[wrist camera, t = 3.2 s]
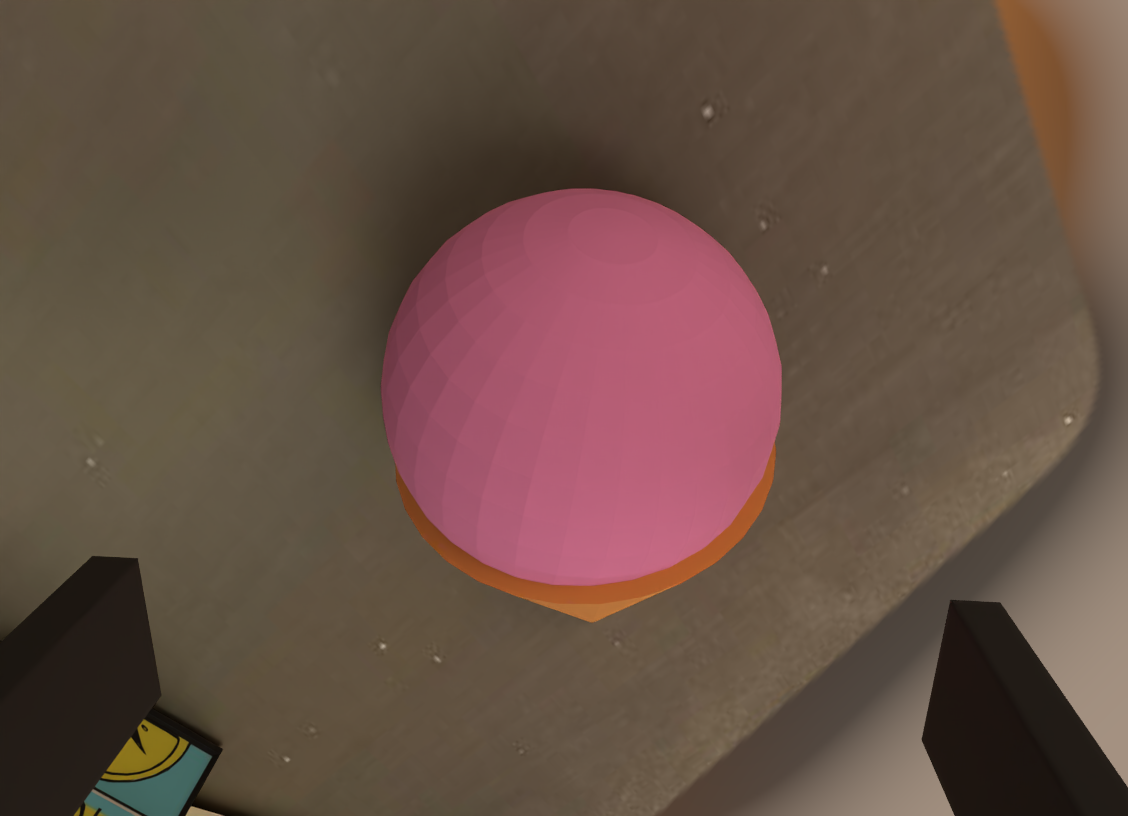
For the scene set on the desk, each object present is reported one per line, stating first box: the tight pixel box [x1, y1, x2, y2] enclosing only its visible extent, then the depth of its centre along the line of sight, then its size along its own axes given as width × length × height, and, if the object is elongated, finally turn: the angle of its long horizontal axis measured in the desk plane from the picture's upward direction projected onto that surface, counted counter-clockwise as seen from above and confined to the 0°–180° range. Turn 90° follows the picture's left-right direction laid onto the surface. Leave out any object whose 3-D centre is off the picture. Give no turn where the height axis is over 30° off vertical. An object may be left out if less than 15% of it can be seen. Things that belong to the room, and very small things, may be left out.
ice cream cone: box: [381, 189, 782, 623], centre depth 23 cm, size 9×9×15 cm
